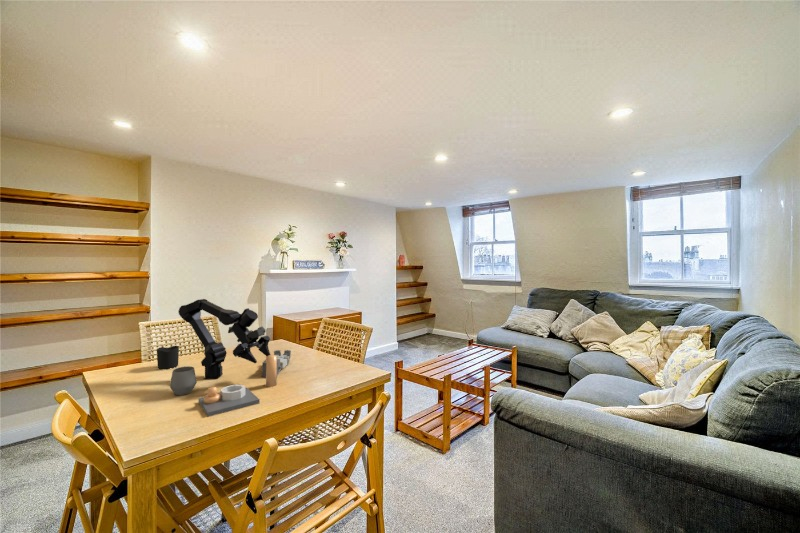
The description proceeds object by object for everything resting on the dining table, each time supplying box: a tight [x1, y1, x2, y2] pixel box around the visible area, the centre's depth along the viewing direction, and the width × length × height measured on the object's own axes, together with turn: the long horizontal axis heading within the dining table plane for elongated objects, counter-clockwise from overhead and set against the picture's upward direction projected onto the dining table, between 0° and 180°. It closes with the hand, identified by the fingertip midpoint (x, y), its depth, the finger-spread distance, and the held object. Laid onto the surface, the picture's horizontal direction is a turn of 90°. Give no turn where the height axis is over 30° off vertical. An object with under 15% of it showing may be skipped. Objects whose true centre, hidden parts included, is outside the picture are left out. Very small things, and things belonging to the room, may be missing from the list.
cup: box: [169, 365, 197, 396], centre depth 143 cm, size 10×9×10 cm
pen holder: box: [156, 345, 180, 370], centre depth 176 cm, size 9×9×10 cm
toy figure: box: [261, 349, 292, 378], centre depth 179 cm, size 11×7×30 cm
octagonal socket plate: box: [198, 384, 260, 417], centre depth 134 cm, size 16×18×6 cm
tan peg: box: [265, 354, 278, 388], centre depth 153 cm, size 4×4×13 cm
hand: (263, 359), depth 154 cm, fingers open, 9 cm apart
